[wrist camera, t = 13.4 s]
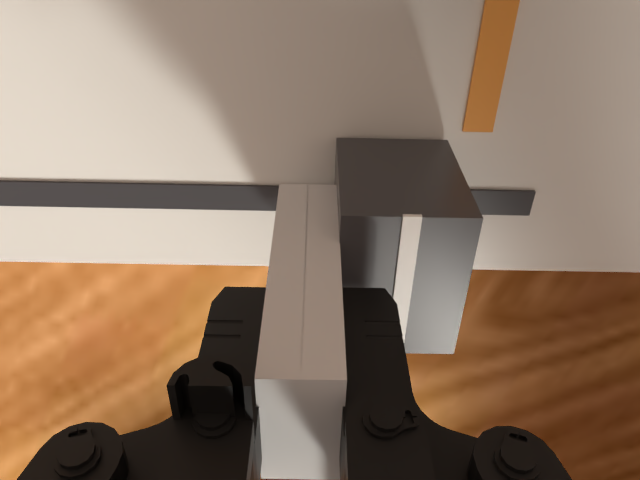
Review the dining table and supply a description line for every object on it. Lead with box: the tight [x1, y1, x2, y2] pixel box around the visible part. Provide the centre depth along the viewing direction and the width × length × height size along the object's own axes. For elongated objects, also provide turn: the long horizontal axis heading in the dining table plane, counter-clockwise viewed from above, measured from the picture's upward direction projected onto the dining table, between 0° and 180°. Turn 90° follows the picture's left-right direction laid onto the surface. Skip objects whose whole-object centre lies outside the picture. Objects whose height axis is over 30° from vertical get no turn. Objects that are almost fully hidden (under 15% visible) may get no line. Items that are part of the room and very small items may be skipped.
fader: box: [334, 138, 483, 354], centre depth 14 cm, size 3×4×4 cm
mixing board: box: [0, 0, 640, 272], centre depth 15 cm, size 26×14×2 cm, turn 89°
